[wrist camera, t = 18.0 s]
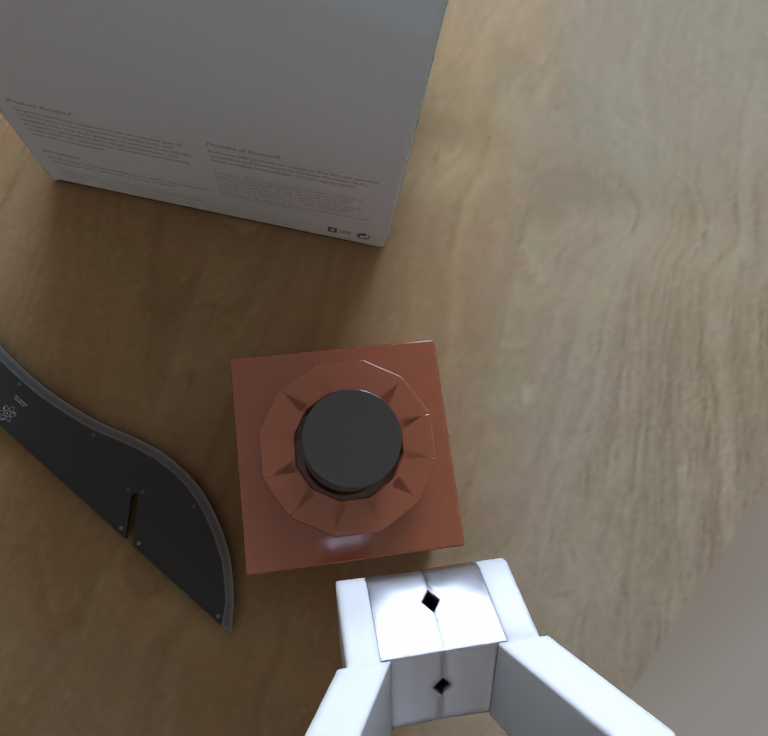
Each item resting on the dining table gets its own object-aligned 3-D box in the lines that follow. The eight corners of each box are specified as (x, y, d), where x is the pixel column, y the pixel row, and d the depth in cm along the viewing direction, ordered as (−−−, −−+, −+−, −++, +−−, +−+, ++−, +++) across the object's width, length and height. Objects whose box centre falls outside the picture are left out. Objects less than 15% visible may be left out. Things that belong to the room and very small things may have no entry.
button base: (433, 540, 29) (477, 547, 22) (259, 564, 28) (241, 580, 20) (410, 374, 31) (443, 325, 23) (246, 391, 30) (224, 345, 22)
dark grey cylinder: (398, 486, 22) (408, 481, 20) (307, 497, 22) (307, 494, 19) (386, 397, 23) (394, 383, 21) (298, 406, 22) (297, 393, 20)
